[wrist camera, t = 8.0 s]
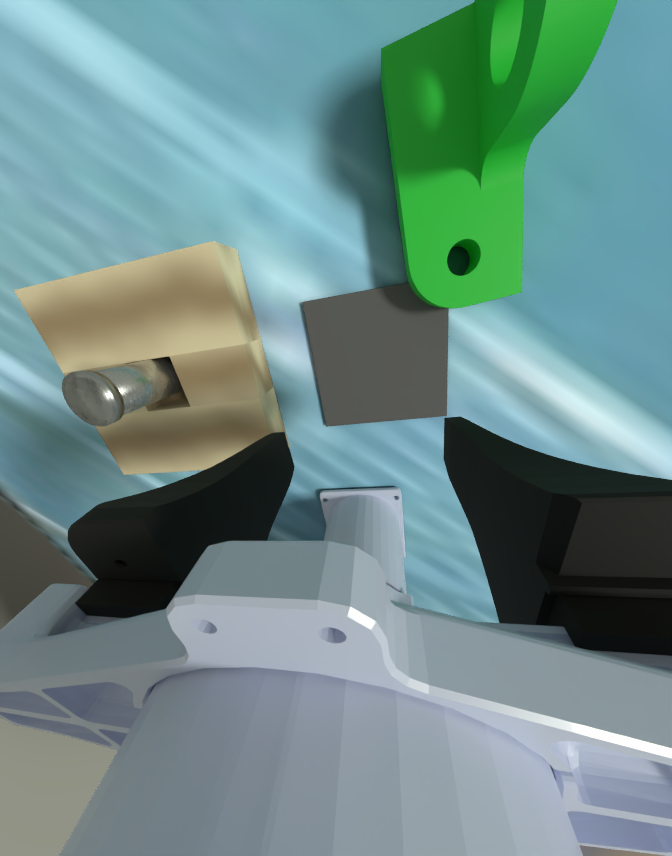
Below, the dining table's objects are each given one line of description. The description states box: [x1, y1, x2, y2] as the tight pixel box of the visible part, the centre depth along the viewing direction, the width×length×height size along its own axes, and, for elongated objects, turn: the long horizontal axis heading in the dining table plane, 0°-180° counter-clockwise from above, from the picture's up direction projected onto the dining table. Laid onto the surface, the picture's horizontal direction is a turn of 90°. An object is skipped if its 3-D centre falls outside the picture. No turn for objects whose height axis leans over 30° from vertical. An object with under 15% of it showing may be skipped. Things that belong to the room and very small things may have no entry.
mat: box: [303, 283, 448, 426], centre depth 20 cm, size 10×10×1 cm
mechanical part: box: [381, 0, 617, 308], centre depth 12 cm, size 12×6×8 cm, turn 15°
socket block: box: [14, 241, 290, 475], centre depth 22 cm, size 16×16×3 cm
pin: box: [62, 356, 184, 427], centre depth 19 cm, size 3×3×8 cm
